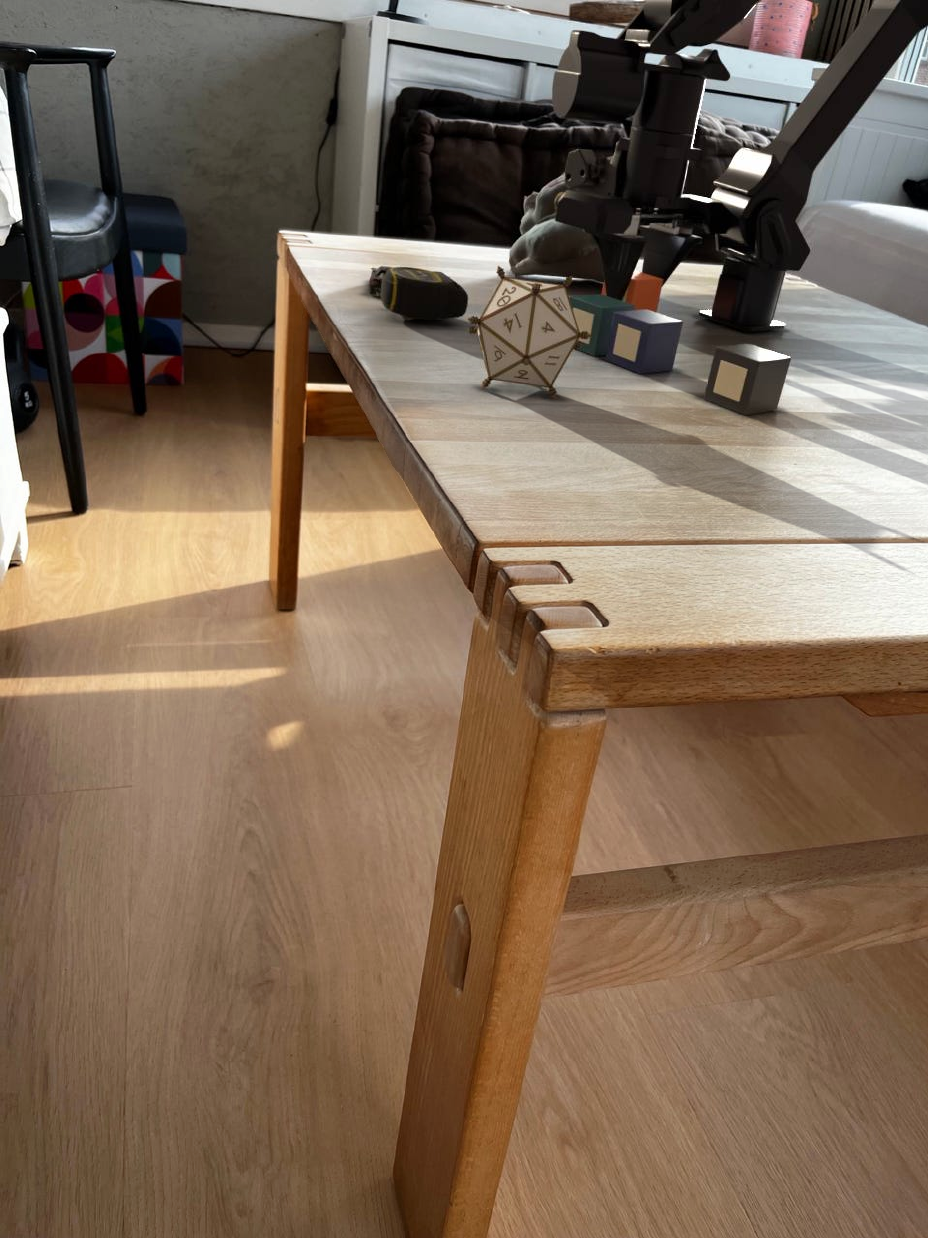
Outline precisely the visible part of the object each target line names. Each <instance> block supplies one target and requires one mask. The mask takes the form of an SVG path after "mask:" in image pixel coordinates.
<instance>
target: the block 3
mask: <svg viewBox="0 0 928 1238" xmlns="http://www.w3.org/2000/svg"><path fill="white" fill-rule="evenodd" d="M791 360H792V357H791V356H787V355H785V354H781V353H778V352H775V351H772V350H769V349H767V348H763V347H760V346H758V345H754V344H752V343H739V344H729V345H719V346H716V347H715V349H714V353H713V358H712V362H711V365H710V369H709V374H708V378H707V382H706V385H705V391H704V395H703V400H705V401H708V402H710V403H713V404H715V405H718V406H721V407H723V408H725V409H728V410H731V411H732V412H735V413H738V414H741V415H744V416H748V415H749V416H750V415H755V414H760V413H766V412H772V411H777V410H778V408H779V404H780V399H781V396H782V394H783V393H782V392H783V389H784V385H785V381H786V379H787V376H788V372H789V368H790V364H791Z"/></svg>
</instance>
